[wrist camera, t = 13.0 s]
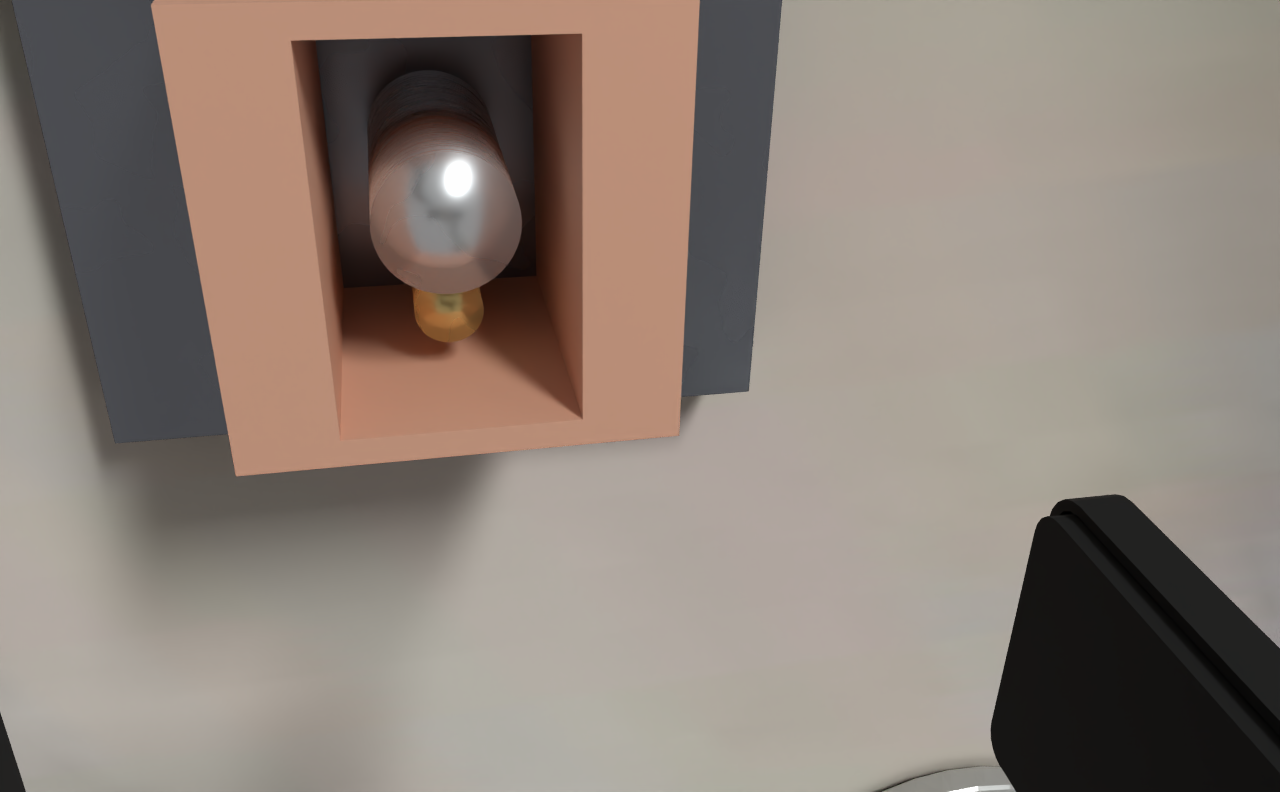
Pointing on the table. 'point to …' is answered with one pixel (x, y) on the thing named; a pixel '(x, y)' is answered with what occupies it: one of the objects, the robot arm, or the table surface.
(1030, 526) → the table surface
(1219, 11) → the table surface
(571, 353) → the pink storage bin
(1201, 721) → the robot arm
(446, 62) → the base plate
